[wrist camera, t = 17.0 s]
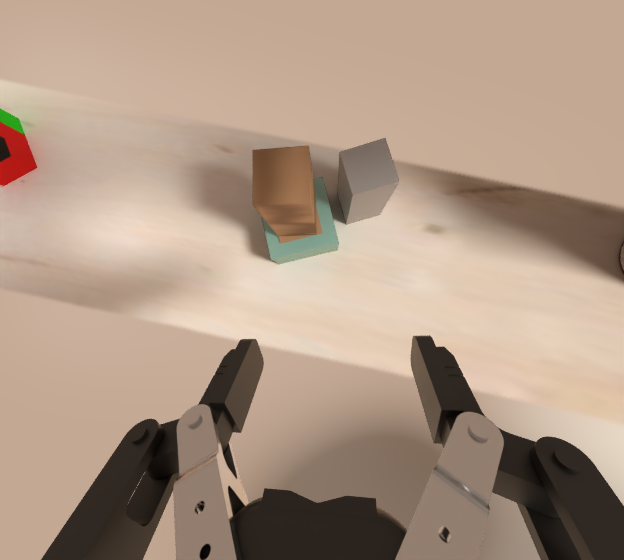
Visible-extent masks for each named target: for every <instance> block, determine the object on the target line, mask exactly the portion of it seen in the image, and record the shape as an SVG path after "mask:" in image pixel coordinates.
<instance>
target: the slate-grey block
mask: <svg viewBox="0 0 624 560" xmlns="http://www.w3.org/2000/svg"><path fill="white" fill-rule="evenodd" d="M398 183H399V179H398V175H397V172H396V169H395V166H394V163H393V160H392V157H391V154H390V151H389V148H388V145H387V142H386V139H385V138H383V139H380V140H377V141H374V142H370V143H367V144H364V145H361V146H358V147H354V148H352V149H348V150H345V151H342V152H340V154H339V171H338V187H337V195H338V198H339V201H340V205H341V208H342V211H343V215H344V218H345V221H346V225H347V224H350V223H354V222H357V221H360V220H364V219H367V218H371V217H374V216H377V215H380V213H381V212H382V210H383V208H384V206H385V205H386V203H387V201H388V200H389V198H390V196H391V195H392V193H393V191H394V190H395V188H396V186H397V185H398Z"/></svg>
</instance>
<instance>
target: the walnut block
mask: <svg viewBox="0 0 624 560" xmlns="http://www.w3.org/2000/svg"><path fill="white" fill-rule="evenodd" d="M253 205H254V207H255V208H256V209H257V210H258V212H259V213H260V214H261V215H262V217H263V218H264V219H265V220H266V222H267V223H268V224H269V225H270V227H271V228H272V229H273V230H274V232H275V233H276V234H277V235H278V237H279V236H299V235H317V215H316V193H315V186H314V179H313V172H312V165H311V158H310V151H309V146H298V147H285V148H273V149H260V150H253Z"/></svg>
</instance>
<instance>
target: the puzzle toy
mask: <svg viewBox="0 0 624 560" xmlns="http://www.w3.org/2000/svg"><path fill="white" fill-rule="evenodd" d="M36 168H37V166H36V163H35V160H34V158H33V155H32V153H31V150H30V147H29V145H28V142H27V139H26V137H25V134H24V132H23V129H22V126H21V124H20V121H19V119H18V118H16V117H14V116H13V115H11V114H9V113H7V112H6V111H4V110H2V109H0V188H1V187H3V186H5V185H7V184H8V183H10V182H12V181H14V180H16V179H18V178H19V177H21V176H23V175H25V174H27V173H29V172H30V171H32V170H34V169H36Z"/></svg>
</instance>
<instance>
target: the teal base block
mask: <svg viewBox="0 0 624 560" xmlns="http://www.w3.org/2000/svg"><path fill="white" fill-rule="evenodd" d="M314 186H315V193H316V215H317V235H299V236H279V237H278V235H277V234H276V233H275V232H274V230H273V229H272V228H271V227H270V225H269V224H268V223H267V222H266V220H265V219H264V218H263V217H262V221H263V225H264V230H265V235H266V239H267V244H268V249H269V253H270V258H271V260H273V261H274V262H276V263H278V264H282V263H286V262H290V261H294V260H298V259H302V258H307V257H311V256H315V255H319V254H323V253H327V252H332V251H336V250H338V244H339V242H338V238H337V234H336V230H335V225H334V221H333V217H332V213H331V209H330V205H329V201H328V196H327V192H326V188H325V184H324V180H323V177H320V178H317V179H314ZM261 216H262V215H261Z"/></svg>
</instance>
